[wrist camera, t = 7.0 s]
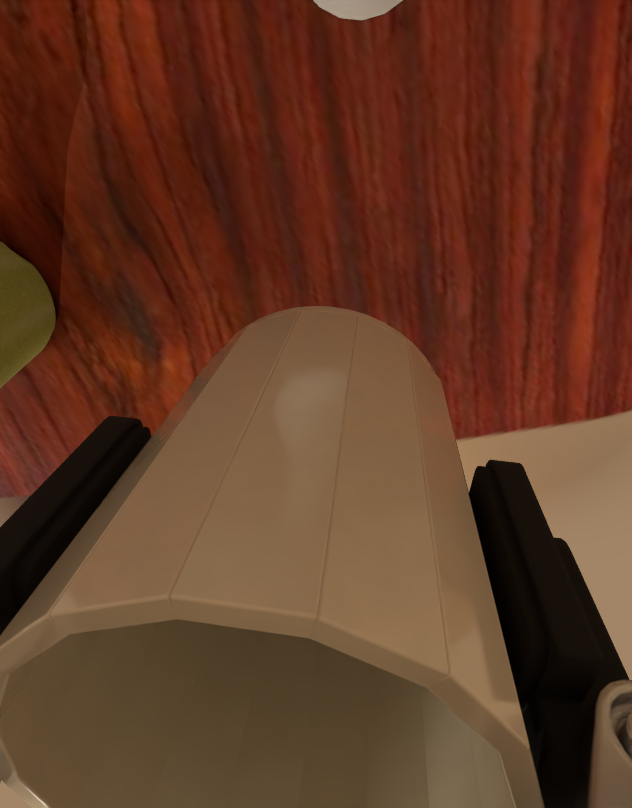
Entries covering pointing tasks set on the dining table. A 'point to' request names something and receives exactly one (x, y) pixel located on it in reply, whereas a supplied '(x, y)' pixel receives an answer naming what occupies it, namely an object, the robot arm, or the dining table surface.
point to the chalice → (357, 8)
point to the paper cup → (275, 601)
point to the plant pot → (22, 313)
